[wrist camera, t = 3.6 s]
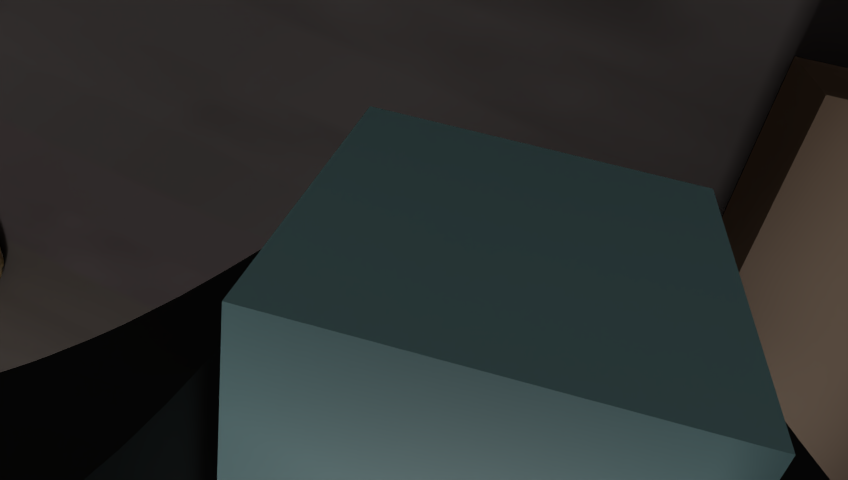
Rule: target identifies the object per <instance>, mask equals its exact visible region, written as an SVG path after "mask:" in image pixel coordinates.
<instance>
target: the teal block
mask: <svg viewBox="0 0 848 480" xmlns="http://www.w3.org/2000/svg"><path fill="white" fill-rule="evenodd" d="M794 457H795V451H794V448H793V445H792V442H791V439H790V435H789V432H788V429H787V426H786V422H785V419H784V416H783V413H782V410H781V406H780V403H779V400H778V397H777V394H776V390H775V387H774V384H773V381H772V377H771V374H770V371H769V368H768V365H767V361H766V358H765V355H764V352H763V348H762V345H761V342H760V339H759V336H758V332H757V329H756V326H755V323H754V319H753V316H752V313H751V310H750V307H749V303H748V300H747V297H746V294H745V291H744V287H743V284H742V281H741V278H740V274H739V271H738V268H737V265H736V262H735V258H734V255H733V252H732V249H731V245H730V242H729V239H728V236H727V233H726V229H725V226H724V223H723V220H722V216H721V213H720V210H719V207H718V204H717V200H716V197H715V194H714V191H713V189H711V188H707V187H703V186H699V185H695V184H691V183H686V182H682V181H678V180H674V179H670V178H666V177H661V176H657V175H653V174H649V173H645V172H641V171H637V170H632V169H628V168H624V167H620V166H616V165H612V164H608V163H603V162H599V161H595V160H591V159H587V158H583V157H578V156H574V155H570V154H566V153H562V152H558V151H554V150H549V149H545V148H541V147H537V146H533V145H529V144H525V143H520V142H516V141H512V140H508V139H504V138H500V137H495V136H491V135H487V134H483V133H479V132H475V131H471V130H466V129H462V128H458V127H454V126H450V125H446V124H442V123H437V122H433V121H429V120H425V119H421V118H417V117H412V116H408V115H404V114H400V113H396V112H392V111H388V110H383V109H379V108H375V107H371V106H370V107H369V109H368V110H367V111H366V112H365V114H364V115H363V116H362V118H361V119H360V120H359V122H358V123H357V124H356V126H355V127H354V128H353V130H352V131H351V132H350V134H349V135H348V136H347V137H346V139H345V140H344V141H343V143H342V144H341V145H340V147H339V148H338V149H337V151H336V152H335V153H334V155H333V156H332V157H331V158H330V160H329V161H328V162H327V164H326V165H325V166H324V168H323V169H322V170H321V172H320V173H319V174H318V176H317V177H316V178H315V180H314V181H313V182H312V183H311V185H310V186H309V187H308V189H307V190H306V191H305V193H304V194H303V195H302V197H301V198H300V199H299V201H298V202H297V203H296V204H295V206H294V207H293V208H292V210H291V211H290V212H289V214H288V215H287V216H286V218H285V219H284V220H283V222H282V223H281V224H280V226H279V227H278V228H277V229H276V231H275V232H274V233H273V235H272V236H271V237H270V239H269V240H268V241H267V243H266V244H265V245H264V247H263V248H262V249H261V250H260V252H259V253H258V254H257V256H256V257H255V258H254V260H253V261H252V262H251V264H250V265H249V266H248V268H247V269H246V270H245V272H244V273H243V274H242V275H241V277H240V278H239V279H238V281H237V282H236V283H235V285H234V286H233V287H232V289H231V290H230V291H229V293H228V294H227V295H226V297H225V298H224V299H223V300H222V317H221V354H220V391H219V428H218V465H217V480H780V479H781V477H782V476H783V474H784V472H785V471H786V469H787V468H788V466H789V465H790V463H791V462H792V460H793V458H794Z"/></svg>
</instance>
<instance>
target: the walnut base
mask: <svg viewBox="0 0 848 480" xmlns="http://www.w3.org/2000/svg"><path fill="white" fill-rule="evenodd" d="M722 220H723V223H724V226H725V229H726V233H727V236H728V239H729V242H730V245H731V249H732V252H733V255H734V258H735V262H736V265H737V268H738V271H739V274H740V278H741V281H742V284H743V287H744V291H745V294H746V297H747V300H748V303H749V307H750V310H751V313H752V316H753V319H754V323H755V326H756V329H757V332H758V336H759V339H760V342H761V345H762V348H763V352H764V355H765V358H766V361H767V365H768V368H769V371H770V374H771V377H772V381H773V384H774V387H775V390H776V394H777V397H778V400H779V403H780V406H781V410H782V413H783V416H784V419H785V422H786V423H787V424H788V426H789V427H790V428H791V430H792V431H793V432H794V434H795V435H796V436H797V438H798V439H799V440H800V442H801V443H802V444H803V445H804V447H805V448H806V449H807V451H808V452H809V453H810V455H811V456H812V457H813V458H814V460H815V461H816V462H817V464H818V465H819V466H820V467H821V469H822V470H823V471H824V473H825V474H826V475H827V476H828V477H829V479H830V480H848V68H845V67H840V66H836V65H831V64H827V63H822V62H818V61H813V60H809V59H805V58H800V57H796V56H795V57H794V59H793V61H792V63H791V66H790V68H789V70H788V72H787V75H786V77H785V79H784V81H783V83H782V86H781V88H780V90H779V92H778V94H777V97H776V99H775V101H774V103H773V106H772V108H771V110H770V112H769V114H768V117H767V119H766V121H765V123H764V126H763V128H762V130H761V132H760V134H759V137H758V139H757V141H756V143H755V145H754V148H753V150H752V152H751V154H750V157H749V159H748V161H747V163H746V165H745V168H744V170H743V172H742V174H741V177H740V179H739V181H738V183H737V185H736V188H735V190H734V192H733V194H732V196H731V199H730V201H729V203H728V205H727V208H726V210H725V212H724V214H723V216H722Z"/></svg>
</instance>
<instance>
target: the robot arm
mask: <svg viewBox="0 0 848 480" xmlns="http://www.w3.org/2000/svg"><path fill="white" fill-rule="evenodd" d="M259 252H260V250H259V251H257V252H256V253H254V254H252V255H251V256H249V257H247V258H246V259H244V260H242V261H241V262H239V263H237V264H236V265H234V266H232V267H231V268H229V269H227V270H226V271H224V272H222V273H220V274H219V275H217V276H215V277H213V278H212V279H210V280H208V281H206V282H205V283H203V284H201V285H199V286H197V287H196V288H194V289H192V290H190V291H189V292H187V293H185V294H183V295H181V296H180V297H178V298H176V299H174V300H172V301H170V302H168V303H166V304H164V305H162V306H160V307H158V308H156V309H154V310H152V311H150V312H148V313H146V314H144V315H142V316H140V317H138V318H136V319H134V320H132V321H130V322H128V323H126V324H124V325H122V326H119V327H117V328H115V329H113V330H111V331H108V332H106V333H104V334H102V335H99V336H97V337H95V338H92V339H90V340H88V341H85V342H83V343H80V344H78V345H75V346H73V347H70V348H68V349H65V350H62V351H60V352H57V353H55V354H52V355H50V356H47V357H45V358H42V359H39V360H37V361H34V362H31V363H28V364H25V365H22V366H19V367H16V368H13V369H10V370H7V371H4V372H1V373H0V480H217V465H218V428H219V391H220V354H221V317H222V300H223V299H224V298H225V297H226V295H227V294H228V293H229V291H230V290H231V289H232V287H233V286H234V285H235V283H236V282H237V281H238V279H239V278H240V277H241V275H242V274H243V273H244V272H245V270H246V269H247V268H248V266H249V265H250V264H251V262H252V261H253V260H254V258H255V257H256V256H257V254H258V253H259ZM786 426H787V429H788V432H789V435H790V439H791V442H792V445H793V448H794V451H795V457H794V458H793V460H792V462H791V463H790V465H789V466H788V468H787V469H786V471H785V472H784V474H783V476H782V477H781V479H780V480H830V479H829V477H828V476H827V475H826V474H825V473H824V471H823V470H822V469H821V467H820V466H819V465H818V464H817V462H816V461H815V460H814V458H813V457H812V456H811V455H810V453H809V452H808V451H807V449H806V448H805V447H804V445H803V444H802V443H801V442H800V440H799V439H798V438H797V436H796V435H795V434H794V432H793V431H792V430H791V428H790V427H789V426H788V424H787V423H786Z"/></svg>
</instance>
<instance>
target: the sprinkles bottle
mask: <svg viewBox="0 0 848 480" xmlns="http://www.w3.org/2000/svg"><path fill="white" fill-rule="evenodd" d="M3 266H4V259H3V255H2V252H1V248H0V278H1V275H2V268H3Z"/></svg>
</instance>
